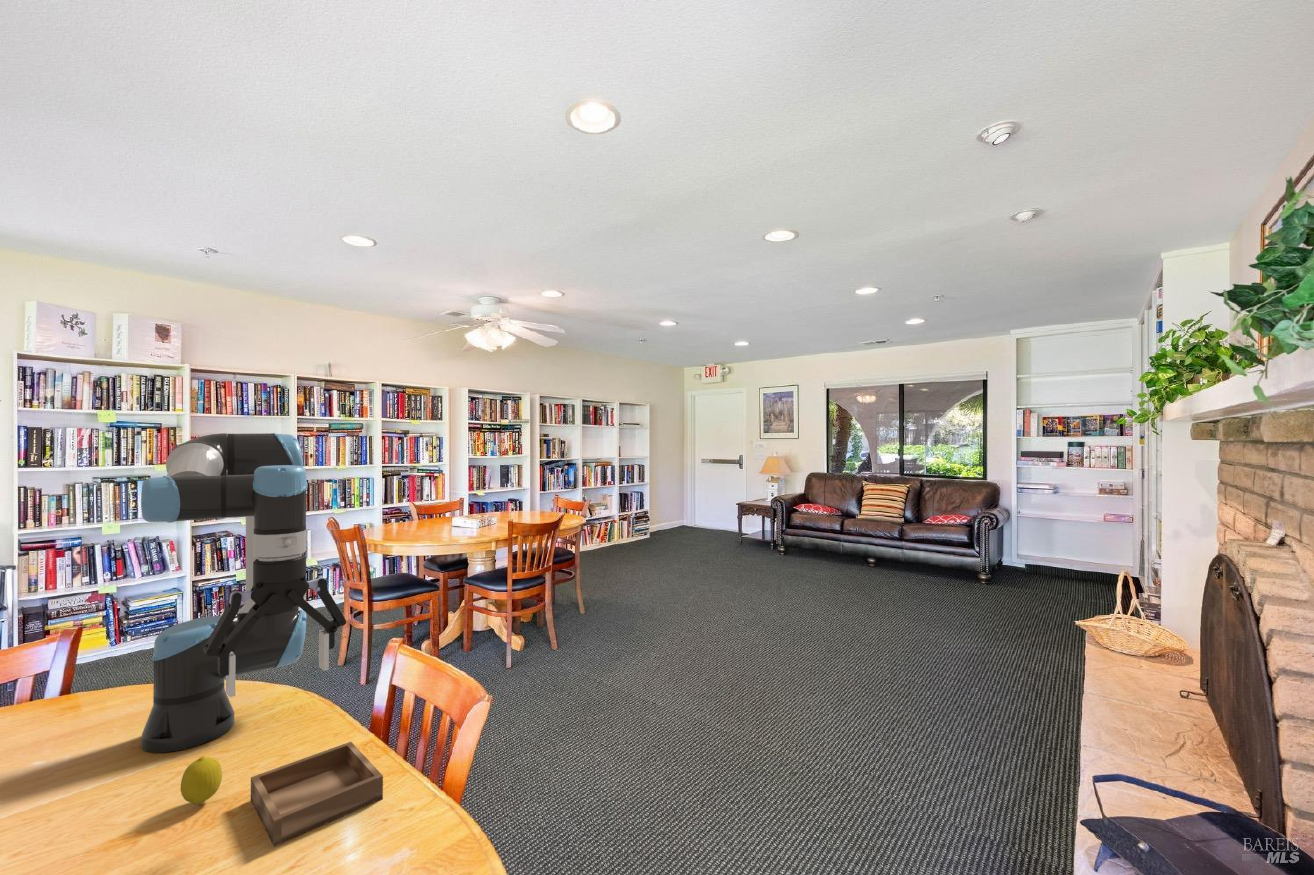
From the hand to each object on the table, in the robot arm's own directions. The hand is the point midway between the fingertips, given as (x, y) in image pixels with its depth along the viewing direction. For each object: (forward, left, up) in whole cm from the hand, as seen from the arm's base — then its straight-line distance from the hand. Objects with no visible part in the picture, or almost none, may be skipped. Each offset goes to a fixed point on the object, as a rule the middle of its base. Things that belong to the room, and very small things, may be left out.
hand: (279, 680), depth 96 cm
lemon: (-10, -9, -22) cm, 25 cm away
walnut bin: (+3, +5, -21) cm, 22 cm away
